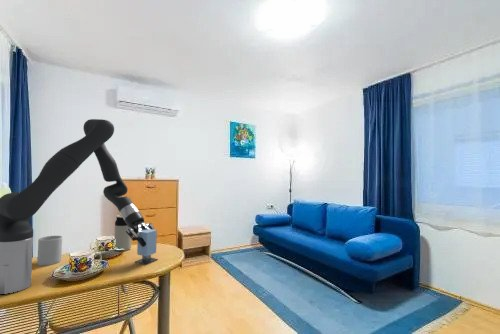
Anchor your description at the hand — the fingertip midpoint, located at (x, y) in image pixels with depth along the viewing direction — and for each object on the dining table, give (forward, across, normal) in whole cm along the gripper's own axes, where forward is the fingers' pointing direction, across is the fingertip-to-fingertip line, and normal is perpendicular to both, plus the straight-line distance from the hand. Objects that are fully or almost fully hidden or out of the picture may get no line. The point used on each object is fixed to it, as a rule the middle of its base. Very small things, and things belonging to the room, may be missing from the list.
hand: (150, 243), depth 115 cm
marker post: (+5, 0, +7) cm, 8 cm away
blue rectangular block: (+2, 0, +5) cm, 5 cm away
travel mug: (-13, +8, +25) cm, 29 cm away
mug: (-22, -19, +34) cm, 45 cm away
